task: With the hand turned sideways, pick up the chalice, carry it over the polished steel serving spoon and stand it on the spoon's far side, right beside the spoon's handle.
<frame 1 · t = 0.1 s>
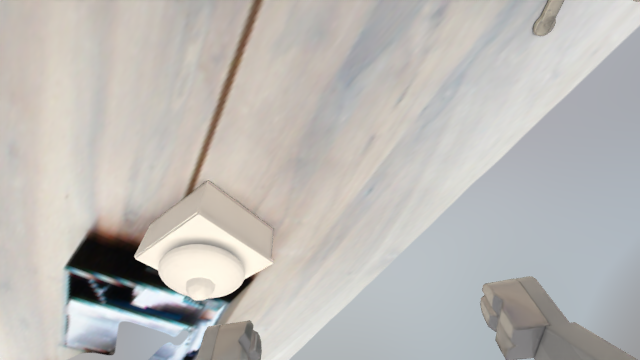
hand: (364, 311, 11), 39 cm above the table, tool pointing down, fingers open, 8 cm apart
white square lidded jar: (215, 225, 63), on the table
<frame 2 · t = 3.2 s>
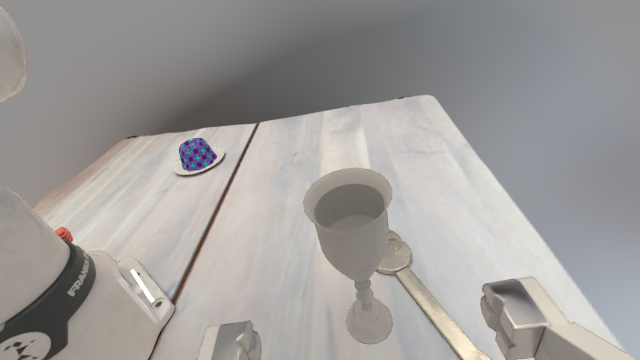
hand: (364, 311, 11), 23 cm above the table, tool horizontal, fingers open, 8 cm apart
spoon: (416, 290, 35), on the table
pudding: (200, 163, 72), on the table
chalice: (369, 321, 34), on the table
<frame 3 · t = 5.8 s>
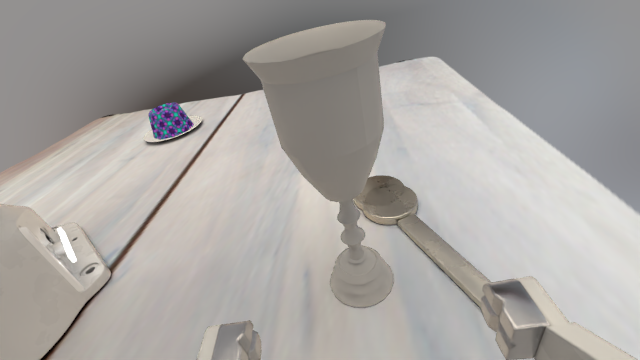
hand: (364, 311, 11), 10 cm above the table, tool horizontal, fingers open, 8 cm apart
spoon: (425, 240, 26), on the table
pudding: (175, 132, 64), on the table
chalice: (361, 280, 24), on the table
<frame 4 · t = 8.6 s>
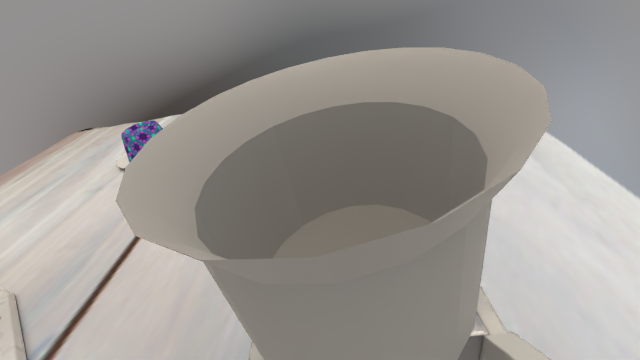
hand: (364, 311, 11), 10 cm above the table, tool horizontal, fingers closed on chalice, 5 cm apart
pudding: (154, 154, 55), on the table
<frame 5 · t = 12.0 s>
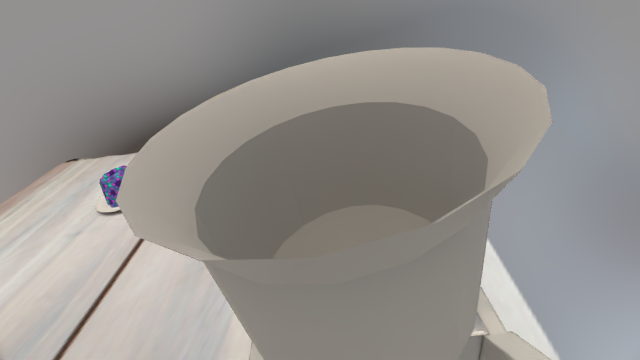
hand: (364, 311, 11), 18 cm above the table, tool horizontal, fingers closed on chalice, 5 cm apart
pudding: (131, 195, 60), on the table
when the fingers open (10 cm above the table, at t = 15.4 s): chalice stays where it is, on the table.
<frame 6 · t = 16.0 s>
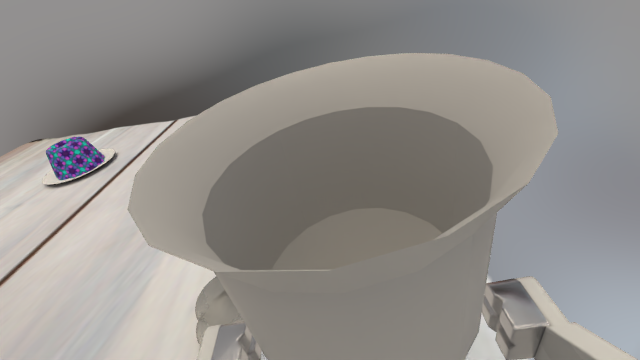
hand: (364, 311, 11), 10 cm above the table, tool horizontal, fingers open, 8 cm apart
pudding: (83, 169, 56), on the table
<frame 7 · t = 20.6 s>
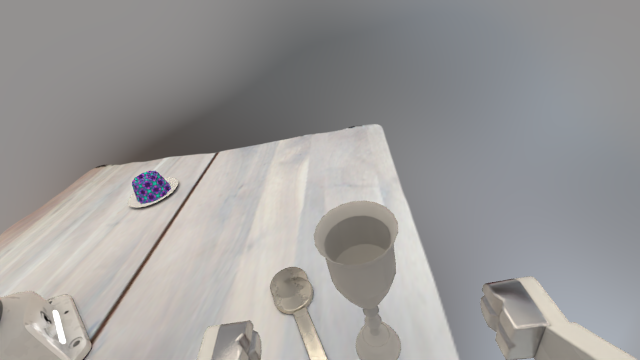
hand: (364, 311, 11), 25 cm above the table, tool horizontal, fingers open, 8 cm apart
spoon: (307, 331, 38), on the table
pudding: (155, 194, 75), on the table
chalice: (378, 345, 35), on the table
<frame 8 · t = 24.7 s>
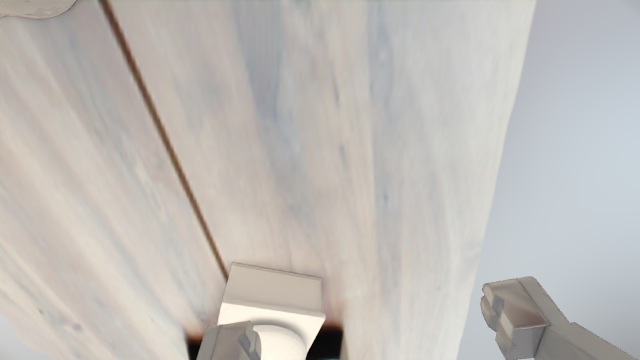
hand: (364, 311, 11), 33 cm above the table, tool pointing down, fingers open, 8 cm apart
white square lidded jar: (269, 296, 63), on the table
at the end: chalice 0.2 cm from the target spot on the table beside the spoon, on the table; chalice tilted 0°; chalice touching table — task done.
